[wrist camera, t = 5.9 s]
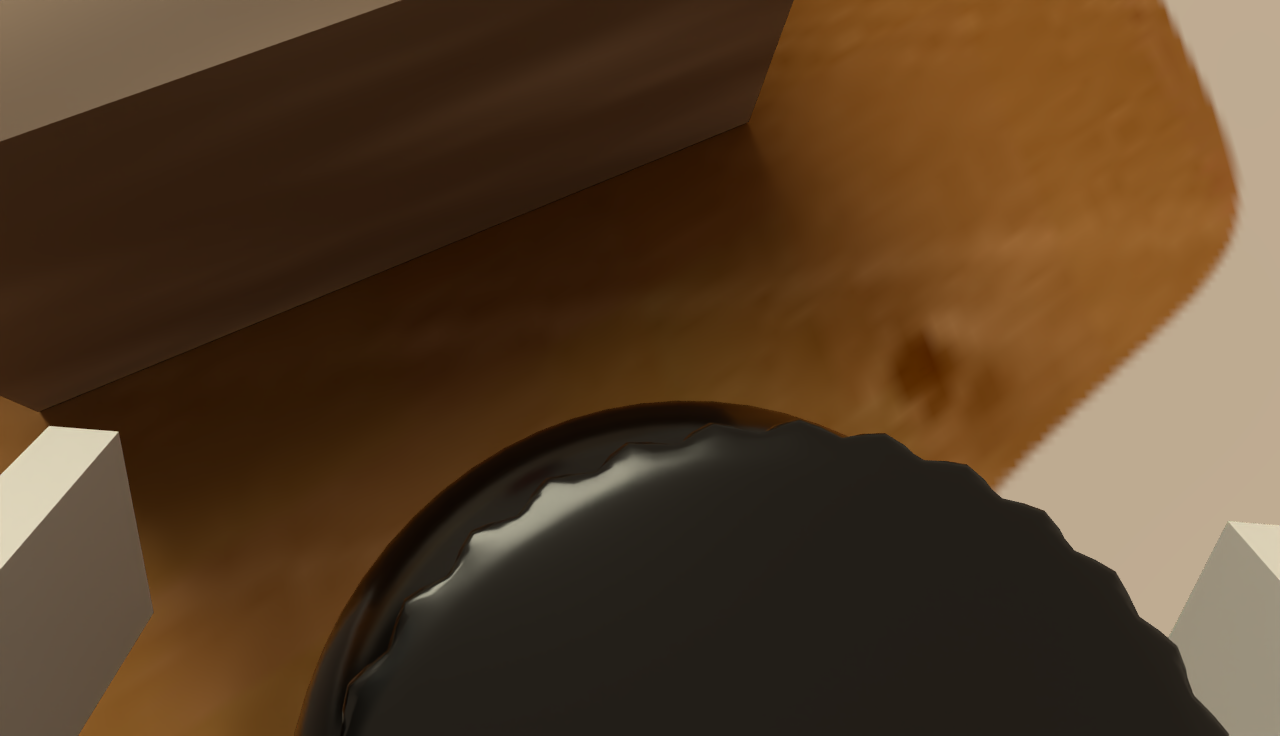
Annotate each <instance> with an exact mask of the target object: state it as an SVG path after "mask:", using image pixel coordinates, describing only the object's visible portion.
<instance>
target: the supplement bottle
mask: <svg viewBox="0 0 1280 736" xmlns="http://www.w3.org/2000/svg"><path fill="white" fill-rule="evenodd" d="M294 736H1229V733H1228V732H1227V731H1226V730H1225V728H1224V727H1223V726H1222V725H1221V724H1220V722H1219V721H1218V720H1217V719H1216V718H1215V716H1214V715H1213V714H1212V713H1211V712H1210V711H1209V710H1208V709H1207V708H1206V707H1205V706H1204V705H1203V704H1202V703H1201V702H1200V701H1199V700H1198V699H1197V698H1196V697H1195V696H1194V694H1193V691H1192V689H1191V686H1190V683H1189V680H1188V678H1187V671H1186V667H1185V665H1184V662H1183V659H1182V657H1181V654H1180V651H1179V649H1178V646H1177V645H1176V644H1174V643H1173V642H1172V641H1171V640H1170V639H1169V638H1167V637H1166V636H1165V635H1164V634H1163V633H1161V632H1160V631H1159V630H1158V629H1156V628H1155V627H1153V626H1152V625H1151V624H1149V623H1148V622H1146V621H1145V620H1143V619H1142V618H1140V617H1139V615H1138V613H1137V611H1136V609H1135V607H1134V605H1133V603H1132V601H1131V599H1130V597H1129V595H1128V593H1127V591H1126V589H1125V587H1124V586H1123V584H1122V582H1121V581H1120V579H1119V577H1118V575H1117V574H1116V572H1115V571H1113V570H1112V569H1110V568H1108V567H1107V566H1105V565H1103V564H1101V563H1100V562H1098V561H1096V560H1094V559H1092V558H1090V557H1087V556H1085V555H1083V554H1081V553H1079V552H1076V551H1074V550H1073V548H1072V547H1071V546H1070V545H1069V543H1068V542H1067V541H1066V540H1065V539H1064V537H1063V535H1062V533H1061V531H1060V529H1059V528H1058V527H1057V525H1056V524H1055V523H1054V522H1053V521H1052V519H1051V518H1050V517H1049V516H1048V515H1047V513H1046V512H1045V511H1043V510H1040V509H1038V508H1035V507H1032V506H1029V505H1027V504H1024V503H1019V502H1015V501H1010V500H1006V499H1002V498H1001V497H1000V496H999V495H998V494H996V493H995V492H994V491H993V490H992V489H991V488H990V486H989V485H988V484H987V482H986V481H985V480H984V479H983V478H982V477H981V476H979V475H978V474H977V473H976V472H975V471H974V470H973V469H971V468H970V467H969V466H968V465H967V464H961V463H955V462H948V461H928V460H923V459H921V458H919V457H918V456H916V455H915V454H913V453H912V452H911V451H910V450H909V449H908V448H907V447H906V446H905V445H903V444H902V443H900V442H898V441H897V440H895V439H893V438H892V437H890V436H889V435H887V434H885V433H875V434H859V435H856V436H850V437H848V436H845V435H843V434H841V433H838V432H836V431H834V430H831V429H829V428H826V427H824V426H822V425H819V424H817V423H813V422H810V421H807V420H804V419H801V418H798V417H794V416H791V415H788V414H785V413H781V412H776V411H772V410H767V409H762V408H758V407H753V406H748V405H739V404H731V403H722V402H714V401H667V402H654V403H641V404H635V405H629V406H623V407H618V408H612V409H606V410H602V411H599V412H595V413H591V414H588V415H584V416H580V417H577V418H573V419H570V420H567V421H565V422H562V423H559V424H557V425H554V426H551V427H549V428H546V429H544V430H541V431H538V432H536V433H534V434H532V435H530V436H528V437H526V438H524V439H522V440H520V441H518V442H516V443H514V444H512V445H510V446H508V447H506V448H504V449H502V450H500V451H499V452H497V453H496V454H494V455H492V456H491V457H489V458H487V459H486V460H484V461H483V462H481V463H479V464H478V465H476V466H474V467H473V468H471V469H470V470H469V471H467V472H466V473H465V474H463V475H462V476H461V477H459V478H458V479H457V480H456V481H454V482H453V483H452V484H450V485H449V486H448V487H446V488H445V489H444V490H442V491H441V492H440V493H439V494H438V495H437V496H436V497H435V498H433V499H432V500H431V501H430V502H429V503H428V504H427V505H426V506H425V507H424V508H423V509H421V510H420V511H419V512H418V513H417V514H416V515H415V516H414V517H413V518H412V519H411V520H410V521H409V522H408V523H407V524H406V526H405V527H404V528H403V529H402V530H401V531H400V532H399V533H398V534H397V535H396V537H395V538H394V539H393V540H392V541H391V542H390V543H389V544H388V545H387V547H386V548H385V549H384V551H383V552H382V553H381V555H380V556H379V557H378V559H377V560H376V561H375V563H374V564H373V565H372V566H371V568H370V569H369V570H368V572H367V573H366V574H365V576H364V577H363V579H362V580H361V582H360V583H359V585H358V587H357V588H356V590H355V591H354V593H353V595H352V596H351V598H350V600H349V601H348V603H347V604H346V606H345V608H344V609H343V611H342V613H341V614H340V616H339V618H338V620H337V622H336V624H335V626H334V628H333V631H332V633H331V635H330V637H329V639H328V641H327V643H326V645H325V647H324V649H323V651H322V653H321V656H320V658H319V661H318V663H317V666H316V669H315V671H314V674H313V676H312V679H311V681H310V684H309V687H308V689H307V692H306V696H305V699H304V702H303V706H302V709H301V713H300V716H299V720H298V723H297V727H296V730H295V734H294Z"/></svg>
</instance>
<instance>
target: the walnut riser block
mask: <svg viewBox="0 0 1280 736" xmlns="http://www.w3.org/2000/svg"><path fill="white" fill-rule="evenodd" d="M792 3H793V0H0V396H2V397H5V398H7V399H9V400H12V401H14V402H16V403H19V404H21V405H23V406H26V407H28V408H30V409H33V410H35V411H37V412H39V411H42V410H44V409H47V408H49V407H51V406H54V405H56V404H59V403H61V402H64V401H66V400H69V399H71V398H74V397H76V396H78V395H81V394H83V393H86V392H88V391H91V390H93V389H96V388H98V387H100V386H103V385H105V384H108V383H110V382H113V381H115V380H118V379H120V378H123V377H125V376H127V375H130V374H132V373H135V372H137V371H140V370H142V369H145V368H147V367H149V366H152V365H154V364H157V363H159V362H162V361H164V360H167V359H169V358H171V357H174V356H176V355H179V354H181V353H184V352H186V351H189V350H191V349H194V348H196V347H198V346H201V345H203V344H206V343H208V342H211V341H213V340H216V339H218V338H220V337H223V336H225V335H228V334H230V333H233V332H235V331H238V330H240V329H243V328H245V327H247V326H250V325H252V324H255V323H257V322H260V321H262V320H265V319H267V318H269V317H272V316H274V315H277V314H279V313H282V312H284V311H287V310H289V309H291V308H294V307H296V306H299V305H301V304H304V303H306V302H309V301H311V300H314V299H316V298H318V297H321V296H323V295H326V294H328V293H331V292H333V291H336V290H338V289H340V288H343V287H345V286H348V285H350V284H353V283H355V282H358V281H360V280H363V279H365V278H367V277H370V276H372V275H375V274H377V273H380V272H382V271H385V270H387V269H389V268H392V267H394V266H397V265H399V264H402V263H404V262H407V261H409V260H412V259H414V258H416V257H419V256H421V255H424V254H426V253H429V252H431V251H434V250H436V249H438V248H441V247H443V246H446V245H448V244H451V243H453V242H456V241H458V240H460V239H463V238H465V237H468V236H470V235H473V234H475V233H478V232H480V231H483V230H485V229H487V228H490V227H492V226H495V225H497V224H500V223H502V222H505V221H507V220H509V219H512V218H514V217H517V216H519V215H522V214H524V213H527V212H529V211H532V210H534V209H536V208H539V207H541V206H544V205H546V204H549V203H551V202H554V201H556V200H558V199H561V198H563V197H566V196H568V195H571V194H573V193H576V192H578V191H580V190H583V189H585V188H588V187H590V186H593V185H595V184H598V183H600V182H603V181H605V180H607V179H610V178H612V177H615V176H617V175H620V174H622V173H625V172H627V171H629V170H632V169H634V168H637V167H639V166H642V165H644V164H647V163H649V162H652V161H654V160H656V159H659V158H661V157H664V156H666V155H669V154H671V153H674V152H676V151H678V150H681V149H683V148H686V147H688V146H691V145H693V144H696V143H698V142H701V141H703V140H705V139H708V138H710V137H713V136H715V135H718V134H720V133H723V132H725V131H727V130H730V129H732V128H735V127H737V126H740V125H742V124H745V123H747V122H749V119H750V117H751V114H752V111H753V109H754V106H755V103H756V101H757V98H758V95H759V92H760V90H761V87H762V84H763V82H764V79H765V76H766V73H767V71H768V68H769V65H770V63H771V60H772V57H773V54H774V52H775V49H776V46H777V44H778V41H779V38H780V35H781V33H782V30H783V27H784V25H785V22H786V19H787V16H788V14H789V11H790V8H791V6H792Z"/></svg>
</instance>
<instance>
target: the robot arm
mask: <svg viewBox="0 0 1280 736" xmlns="http://www.w3.org/2000/svg"><path fill="white" fill-rule="evenodd" d="M153 613H154V612H153V607H152V602H151V597H150V591H149V586H148V581H147V576H146V571H145V565H144V560H143V555H142V550H141V545H140V540H139V534H138V529H137V524H136V519H135V514H134V508H133V503H132V498H131V493H130V488H129V482H128V477H127V472H126V467H125V462H124V456H123V451H122V446H121V441H120V436H119V432H117V431H105V430H92V429H80V428H67V427H55V426H49V427H48V428H47V429H46V430H45V431H44V432H43V433H42V434H41V435H40V436H39V437H38V438H37V439H36V440H35V441H34V442H33V443H32V444H31V445H30V446H29V447H28V448H27V449H26V450H25V451H24V452H23V453H22V454H21V455H20V456H19V457H18V458H17V459H16V460H15V461H14V462H13V463H12V464H11V465H10V466H9V467H8V468H7V469H6V470H5V471H4V472H3V473H2V474H1V475H0V736H78V735H79V733H80V732H81V730H82V728H83V727H84V725H85V723H86V722H87V720H88V719H89V717H90V715H91V714H92V712H93V710H94V709H95V707H96V706H97V704H98V702H99V701H100V699H101V697H102V696H103V694H104V693H105V691H106V689H107V688H108V686H109V684H110V683H111V681H112V679H113V678H114V676H115V675H116V673H117V671H118V670H119V668H120V666H121V665H122V663H123V662H124V660H125V658H126V657H127V655H128V653H129V652H130V650H131V649H132V647H133V645H134V644H135V642H136V640H137V639H138V637H139V636H140V634H141V632H142V631H143V629H144V627H145V626H146V624H147V623H148V621H149V619H150V618H151V616H152V614H153ZM1168 638H1169V639H1170V640H1171V641H1172V642H1173V643H1174V644H1176V645H1177V646H1178V649H1179V651H1180V654H1181V657H1182V659H1183V662H1184V665H1185V667H1186V671H1187V678H1188V680H1189V683H1190V686H1191V689H1192V691H1193V694H1194V696H1195V697H1196V698H1197V699H1198V700H1199V701H1200V702H1201V703H1202V704H1203V705H1204V706H1205V707H1206V708H1207V709H1208V710H1209V711H1210V712H1211V713H1212V714H1213V715H1214V716H1215V718H1216V719H1217V720H1218V721H1219V722H1220V724H1221V725H1222V726H1223V727H1224V728H1225V730H1226V731H1227V732H1228V733H1229V736H1280V525H1268V524H1255V523H1243V522H1231V521H1228V522H1227V524H1226V526H1225V528H1224V530H1223V532H1222V534H1221V536H1220V538H1219V540H1218V541H1217V543H1216V545H1215V547H1214V549H1213V551H1212V553H1211V555H1210V557H1209V559H1208V561H1207V563H1206V565H1205V567H1204V569H1203V571H1202V573H1201V575H1200V577H1199V579H1198V581H1197V583H1196V584H1195V586H1194V588H1193V590H1192V592H1191V594H1190V596H1189V598H1188V600H1187V602H1186V604H1185V606H1184V608H1183V610H1182V612H1181V614H1180V616H1179V618H1178V620H1177V622H1176V624H1175V626H1174V628H1173V630H1172V631H1171V633H1170V635H1169V637H1168Z"/></svg>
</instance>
